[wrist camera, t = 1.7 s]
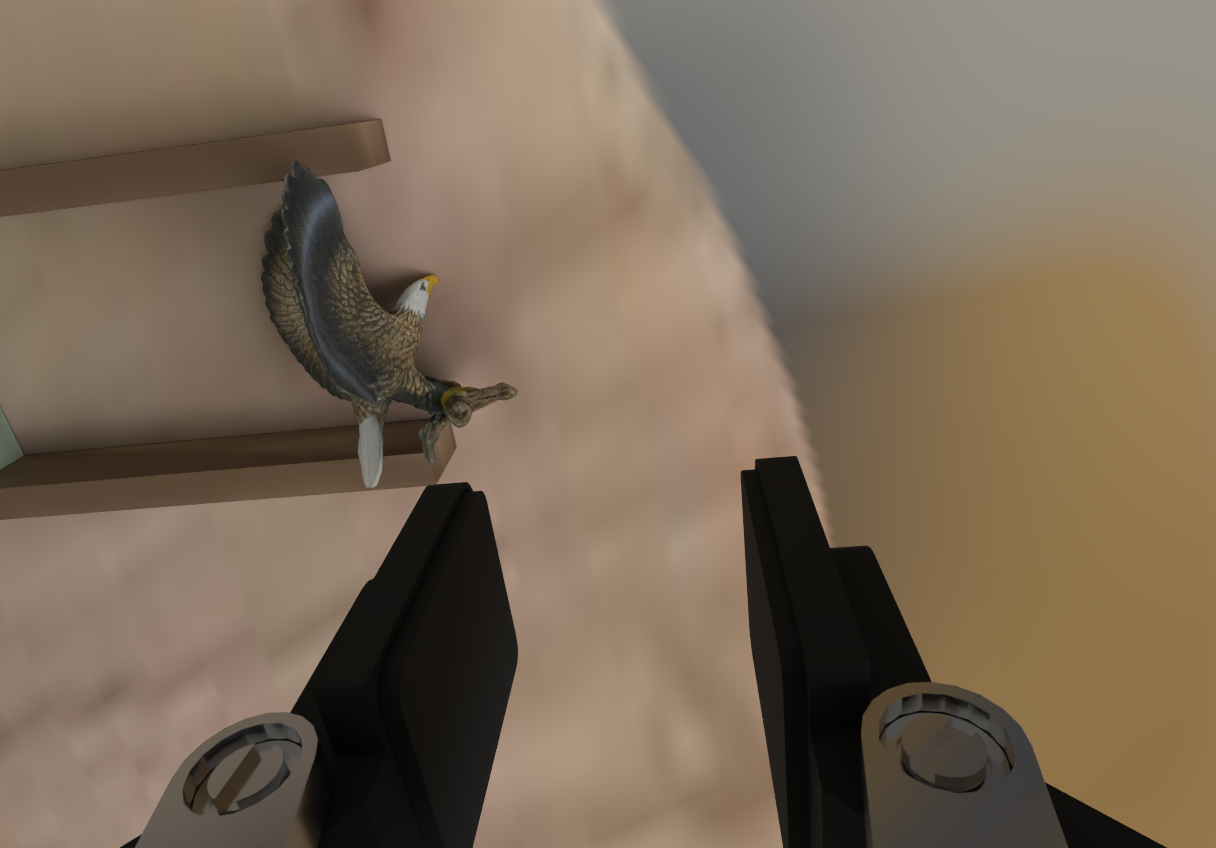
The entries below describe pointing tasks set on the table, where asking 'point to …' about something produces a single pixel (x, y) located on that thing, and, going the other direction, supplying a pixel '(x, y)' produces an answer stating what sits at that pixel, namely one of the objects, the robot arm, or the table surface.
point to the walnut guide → (217, 465)
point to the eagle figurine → (354, 324)
